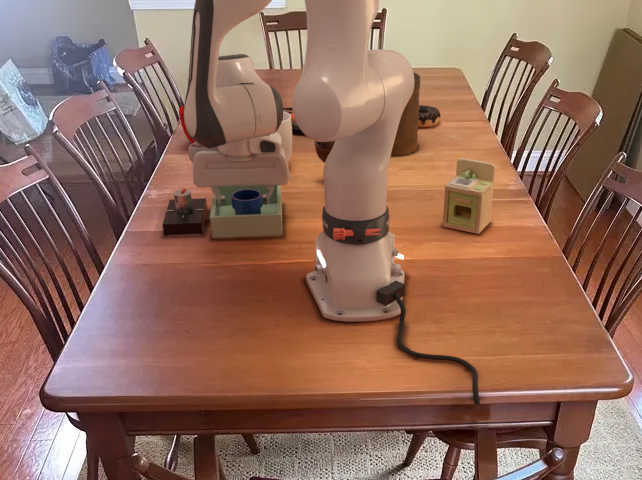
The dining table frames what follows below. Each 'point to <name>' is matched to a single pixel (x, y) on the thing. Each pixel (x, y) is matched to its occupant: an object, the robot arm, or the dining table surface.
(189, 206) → the rotary knob
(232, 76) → the robot arm
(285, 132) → the mug
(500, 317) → the dining table surface
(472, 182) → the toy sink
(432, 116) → the donut
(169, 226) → the black dial base
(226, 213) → the basin
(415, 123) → the wooden container
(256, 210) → the blue cup
